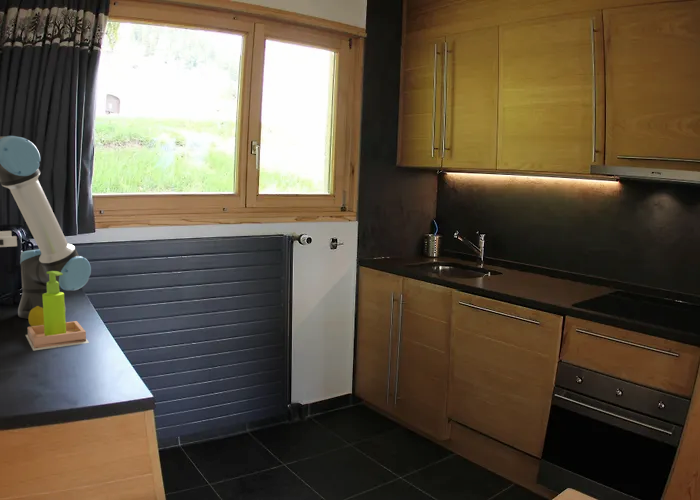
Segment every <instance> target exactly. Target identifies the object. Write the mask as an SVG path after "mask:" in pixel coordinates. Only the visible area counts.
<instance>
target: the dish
mask: <svg viewBox="0 0 700 500" xmlns="http://www.w3.org/2000/svg"><path fill="white" fill-rule="evenodd" d="M27 335H28V337H29V339H30V341H31V343H32V345H33V347H34V348H41V347H48V346H55V345H62V344H70V343H77V342H84V341H86V339H87V331H86V330H85V329H84V328H83V327H82V325H81V324H80V322H78V321H77V320H74V321H66V333H63V334H56V335H48V336H45V332H44V325H39V326H31V325H30V326H27Z"/></svg>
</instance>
